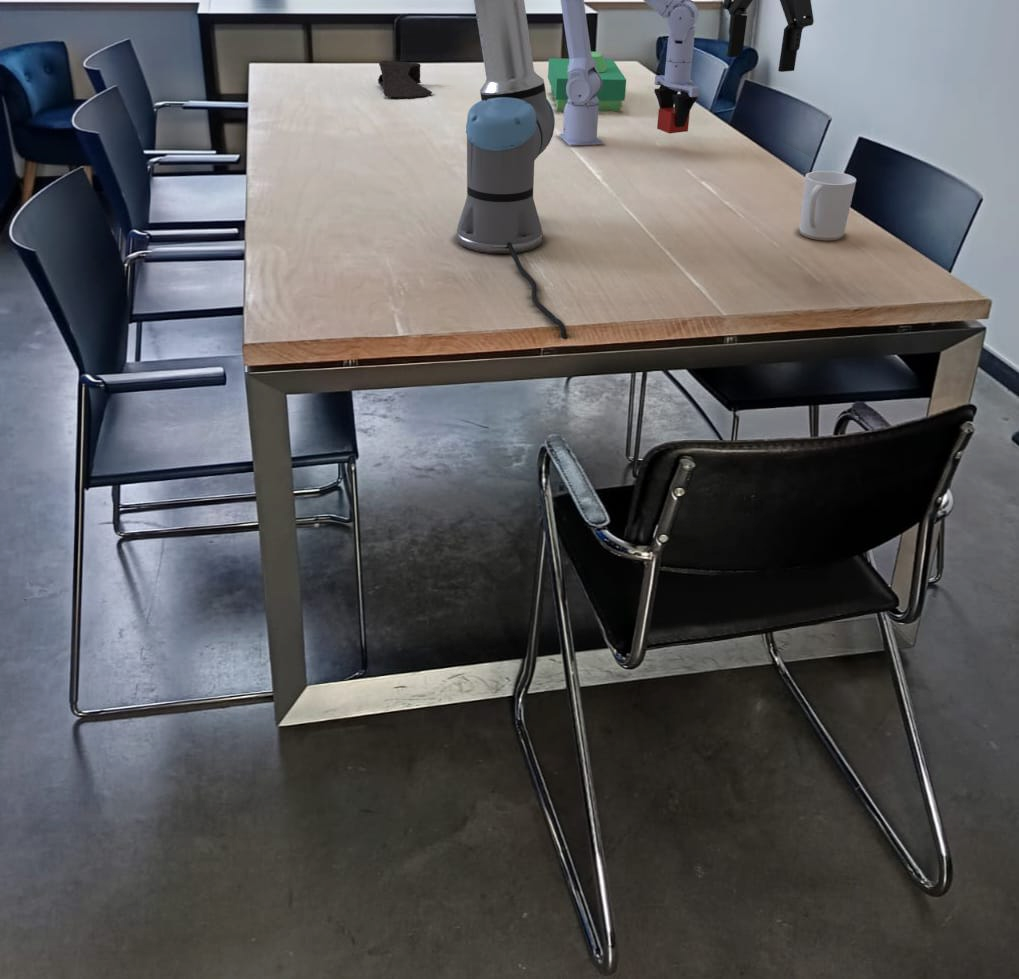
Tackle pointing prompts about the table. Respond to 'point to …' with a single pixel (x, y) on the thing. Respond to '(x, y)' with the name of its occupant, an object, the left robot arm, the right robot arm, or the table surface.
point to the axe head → (401, 79)
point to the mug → (826, 204)
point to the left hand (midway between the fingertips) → (759, 63)
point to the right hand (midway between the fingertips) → (673, 123)
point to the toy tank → (610, 76)
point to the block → (670, 121)
